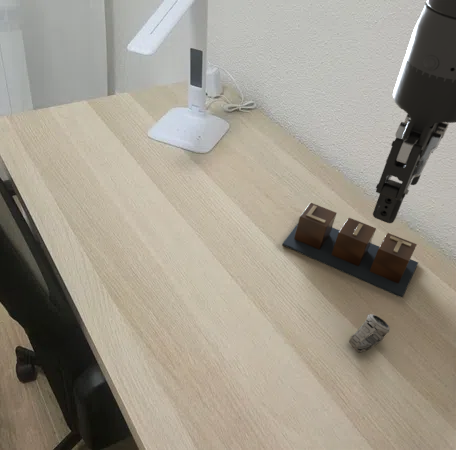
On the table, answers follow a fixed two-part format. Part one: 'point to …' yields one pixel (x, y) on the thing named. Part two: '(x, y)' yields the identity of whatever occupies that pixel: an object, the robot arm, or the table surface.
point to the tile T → (392, 257)
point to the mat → (349, 268)
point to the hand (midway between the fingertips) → (395, 199)
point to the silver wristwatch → (369, 333)
